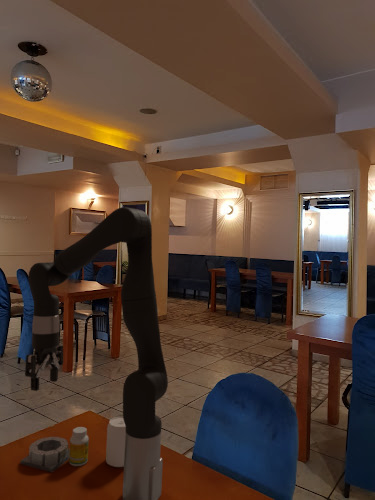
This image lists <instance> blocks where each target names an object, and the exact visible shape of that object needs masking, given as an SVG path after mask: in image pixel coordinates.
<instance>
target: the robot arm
mask: <svg viewBox="0 0 375 500" xmlns="http://www.w3.org/2000/svg"><path fill="white" fill-rule="evenodd" d="M152 229H153V228H152V222H151V219H150V217H149V215H148V214H147V213H146V212H145V211H143V210H141V209H137V208H131V207H128V206H122V207H119V208H116V209H115V210H113V211H112V212H110V213H109V215H107V216H106V217H105V218H104V219H103V220H102V221H100V223H99V224H97V225H96V226H95V227H94V228H93V229H92V230H90V231H89V232H88V233H87V234H86V235H84V236H83V237H82V238H80V239H79V240H78V241H76V242H74V243H73V244H72V245H69V246H68V247H66V248H65V249H64V250H61V251H59V252H58V253H57V254H56V255H55V257H54V261H53V262H36V263H34V264H33V265H32V266H31V267H30V269H29V271H28V278H27V279H28V284H29V288H30V292H31V295H32V300H33V317H32V328H31V330H32V335H31V336H32V337H31V346H32V348H33V349H34V352H33V354H26V357H25V367H24V369H25V370H24V371H25V372H24V376H25V377H27V378H28V377H29V378H30V390H31V391H34V392H35V391H36V392H37V391H39V390H40V375H41V374H42V373H41V372H42V371H44V370H45V367H47V366H48V365H49V367H50V369H49V370H50V371H49V381H50V382H52V383H53V382H54V383H55V382H58V378H59V369H60V366H63V365H64V346H63V345H60V323H61V322H60V298H59V297H58V295H56V294H51V291H50V287H53V286H54V287H55V286H58V285H61V284H63V283H64V282H66V281H67V280H68V279H69V278H70V277H71V276H72V275H73V274H74V273H77V272H78V271H79V270H81V269H83V268H84V267H86V266H88V265H89V264H90V263H92V262H93V261H94V259H96V257H97V256H98V255H99V253H100V252H102V251H103V250H105V249H107V248H108V247H111V246H113V245H116V244H119V243H123V244H124V243H126V251H127V268H126V271H125V275H124V278H123V282H122V286H121V291H120V299H121V301H120V302H121V309H122V310H121V311H122V318H123V322H124V324H125V327H126V328H127V330H128V332H129V334H130V335H131V336H130V337H131V338H132V340H133V341H134V344H135V347H136V354H137V360H138V361H137V365H138V369H137V370H134V371H132V372H130V374H128V376H126V378H125V380H124V383H123V387H122V388H123V390H122V417H123V419H124V423H125V425H126V431H125V452H124V467H123V479H122V480H123V481H122V500H159V498H160V497H161V495H162V488H163V487H162V486H163V485H162V483H163V458H162V457H161V443H162V441H161V440H162V419H161V418H160V417H159V415H156V402H157V401H159V400H160V399H161V398H163V396H165V394H166V392H167V391H168V390H167V389H168V385H169V382H168V381H169V379H168V373H167V369H166V368H167V367H166V364H165V360H164V358H165V357H164V354H163V348H162V343H161V333H160V324H159V322H160V321H159V315H158V313H159V312H158V303H157V294H156V293H157V292H156V288H155V287H156V286H155V277H154V276H155V275H154V274H155V273H154V265H153V230H152Z"/></svg>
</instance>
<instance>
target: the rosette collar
mask: <svg viewBox="0 0 375 500" xmlns="http://www.w3.org/2000/svg"><path fill="white" fill-rule="evenodd" d="M28 450H29V453H28V454H27V456H25V457H24V458H22V459H20V465H23V466H27V467H31V468H35V469H38V470H42V471H45V472H50V473H53V472H55V471H56V470H57V469H59V468H60V467H61V466H62V465H64V464H65V463H66V462H67V461H69V453H70V448H69V443H68V440H67V439H65V438H64V437H59V436H49V437H41V438H40V439H37V440H35V441H34V442H32V443H31V444H30V445H29V449H28Z"/></svg>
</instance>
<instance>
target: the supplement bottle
mask: <svg viewBox="0 0 375 500" xmlns="http://www.w3.org/2000/svg"><path fill="white" fill-rule="evenodd" d="M87 433H88V430H87V428H86V427H84V426H77V427H74V428H73V429H72V435H71V437H70V438H69V439H70V440H69V449H70V453H69V459H68V463H69V464H70V465H71V466H73V467H81V466H84V465H85V464H87V462H88V458H89V457H88V456H89V440H90V439H89V435H88V434H87Z"/></svg>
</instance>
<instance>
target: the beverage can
mask: <svg viewBox="0 0 375 500" xmlns="http://www.w3.org/2000/svg"><path fill="white" fill-rule="evenodd" d="M125 431H126V425H125V423H124V419H123V416H116V417H113V418H111V419H109V422H108V424H107V430H106V451H105V462H106V463H107V465H109V466H111V467H115V468H124V452H125Z"/></svg>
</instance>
